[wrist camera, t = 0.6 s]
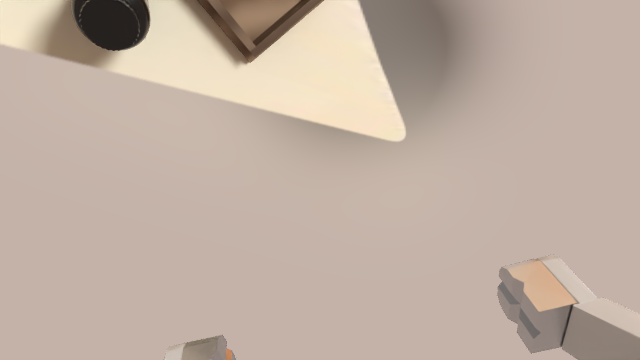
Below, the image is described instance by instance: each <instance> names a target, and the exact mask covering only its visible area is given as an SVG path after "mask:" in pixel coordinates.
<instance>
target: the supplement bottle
mask: <svg viewBox="0 0 640 360" xmlns="http://www.w3.org/2000/svg"><path fill="white" fill-rule="evenodd" d="M71 11H72V16H73V19H74V21H75V23H76V25H77V27H78V28H79V30H80V31H81V32H82V33H83V34H84V36H86V37H87V38H88V39H89V40H90V41H92V42H93V43H95V44H96V45H97V46H100V47H101V48H104V49H107V50H113V51H115V50H118V51H120V50H126V49H130V48H133V47H135V46H137V45H138V44H139V43H141V42H142V41H143V40H144V38H145V37H146V35H147V33H148V31H149V27H150V11H149V4H148V0H71Z"/></svg>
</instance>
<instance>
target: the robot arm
mask: <svg viewBox="0 0 640 360" xmlns="http://www.w3.org/2000/svg"><path fill="white" fill-rule="evenodd" d="M499 277H500V278H501V280H502V282H501V284H500V285H499V286H498V298H499V302H500V305H501V307H502V309H503V311H504V313H505V314H506V316H507V318H508V319H510V320H511V321H513V322H515V323H517V324H518V328H517V333H518V334H519V336H520V338H521V339H522V341H523V342H524V344H525V345H526V347H527V348H528V350H529V351H530V353H535V352H540V351H545V350H549V349H554V348H559V347H562V349H563V350H565V351H566V352H568V353H569V354H570V355H572V356H573V357H575V358H576V359H578V360H640V314H639V313H637V312H634V311H632V310H630V309H628V308H626V307H623V306H621V305H619V304H616V303H614V302H612V301H610V300H608V299H606V298H600V299H598V298H597V297H596V296H595V295H594V294H593V293H592V292H591V291H590V290H589V289H588V287H587V286H586V285H585V284H583V282H582V281H581V280H580V279H579V278H578V277H577V276H576V275H575V274H574V273H573V272H572V271H571V270H570V268H569V267H568V266H567V265H566V264H565V263H564V262H563V261H562V260H561V259H560V258H559V257H558V256H556V255H549V256H545V257H541V258H537V259H531V260H527V261H523V262H519V263H515V264H511V265H508V266H504V267H502V268H501V269H500V271H499ZM226 346H227V341H226V339H225V338H224V336H223V335H220V336H215V337H211V338H206V339H201V340H197V341H192V342H187V343H183V344H179V345H175V346H170V347H169V348H168V350H167V351H166V353H165V357H164V360H236V359H235V355H234V354H233V352H232V351H231V350H229V349H227V348H226Z"/></svg>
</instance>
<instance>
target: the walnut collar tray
mask: <svg viewBox="0 0 640 360" xmlns="http://www.w3.org/2000/svg"><path fill="white" fill-rule="evenodd" d="M323 1H324V0H198V2H199V3H200V4H201V5H202V6H203V7H204V9H205V10H206V11H207V12H208V13H209V15H210V16H211V17H212V18H213V19H214V20H215V22H216V23H217V24H218V25H219V26H220V28H221V29H222V30H223V31H224V32H225V33H226V35H227V36H228V37H229V38H230V39H231V40H232V42H233V43H234V44H235V45H236V46H237V48H238V49H239V50H240V51H241V52H242V53H243V55H244V56H245V57H246V58H247V59H248V61H249V62H250V63H251V62H252V61H253V60H254V59H256V58H257V57H258V56H259V55H260V54H261V53H263V52H264V51H265V50H266V49H267V48H269V47H270V46H271V45H272V44H273V43H274V42H276V41H277V40H278V39H279V38H280V37H281V36H283V35H284V34H285V33H286V32H287V31H289V30H290V29H291V28H292V27H293V26H294V25H296V24H297V23H298V22H299V21H300V20H302V19H303V18H304V17H305V16H306V15H307V14H309V13H310V12H311V11H312V10H313V9H314V8H316V7H317V6H318V5H319V4H320V3H322V2H323Z"/></svg>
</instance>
